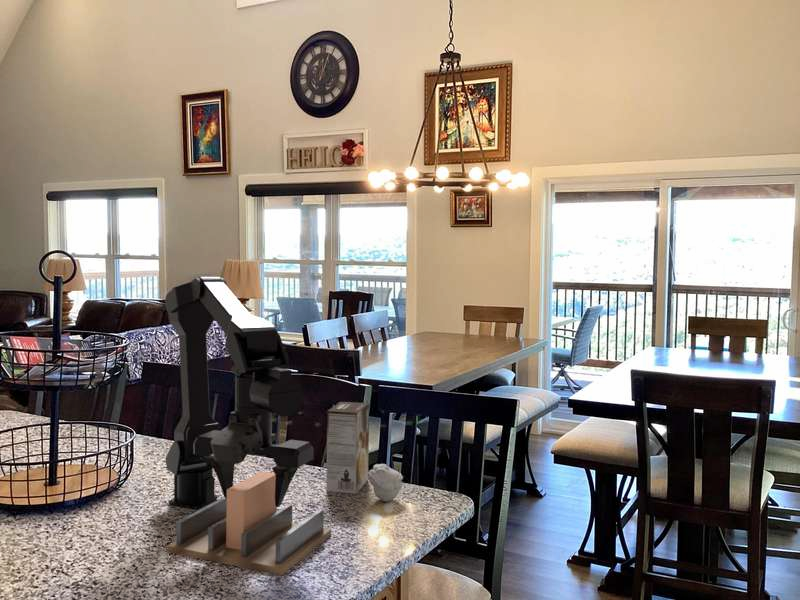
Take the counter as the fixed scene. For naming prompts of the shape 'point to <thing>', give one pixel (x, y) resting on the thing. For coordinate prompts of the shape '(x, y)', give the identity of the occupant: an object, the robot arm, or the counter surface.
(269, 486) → the peach rectangular block
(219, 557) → the rack base
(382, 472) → the white rounded lump
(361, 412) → the coffee box
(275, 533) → the rack dividers
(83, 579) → the counter surface
